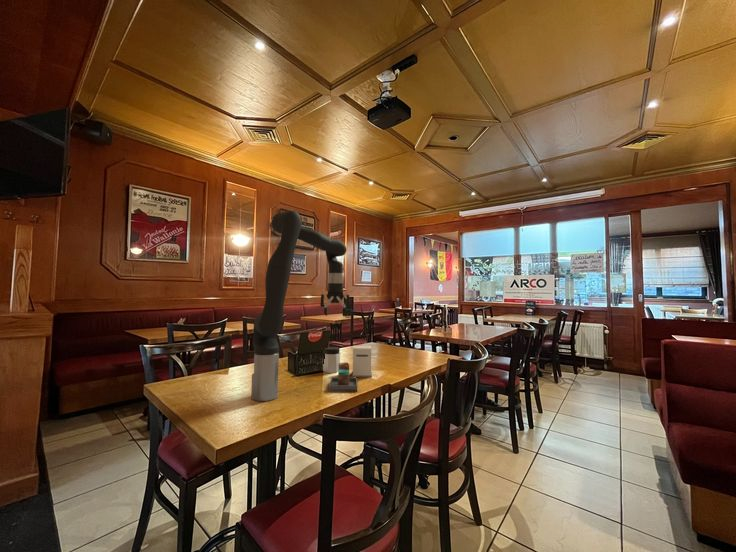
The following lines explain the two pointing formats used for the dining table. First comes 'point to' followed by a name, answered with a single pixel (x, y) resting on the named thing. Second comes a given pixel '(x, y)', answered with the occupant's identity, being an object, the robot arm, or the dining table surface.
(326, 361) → the jar
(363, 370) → the dispenser
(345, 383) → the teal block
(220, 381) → the dining table surface
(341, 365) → the rust block
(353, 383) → the tray
